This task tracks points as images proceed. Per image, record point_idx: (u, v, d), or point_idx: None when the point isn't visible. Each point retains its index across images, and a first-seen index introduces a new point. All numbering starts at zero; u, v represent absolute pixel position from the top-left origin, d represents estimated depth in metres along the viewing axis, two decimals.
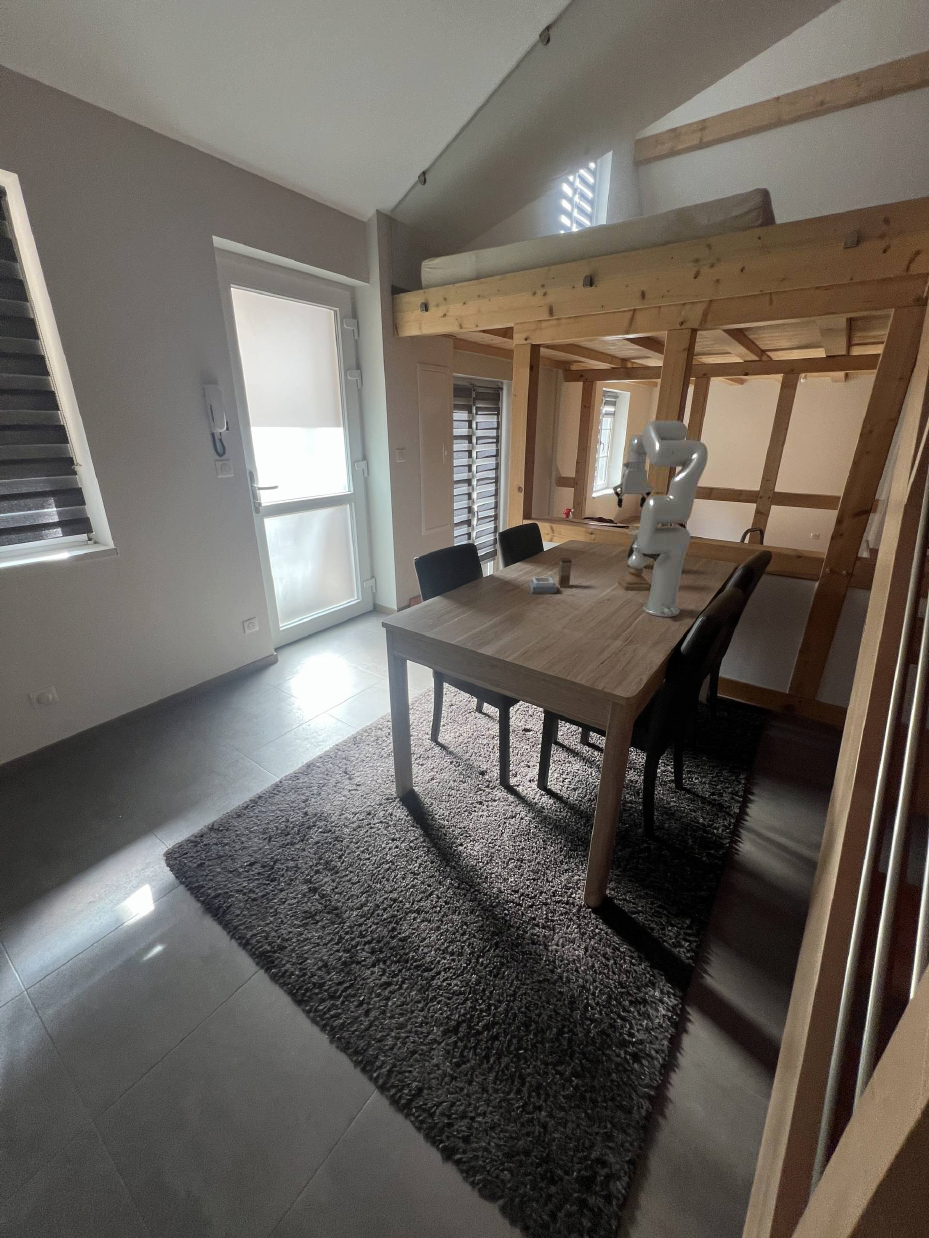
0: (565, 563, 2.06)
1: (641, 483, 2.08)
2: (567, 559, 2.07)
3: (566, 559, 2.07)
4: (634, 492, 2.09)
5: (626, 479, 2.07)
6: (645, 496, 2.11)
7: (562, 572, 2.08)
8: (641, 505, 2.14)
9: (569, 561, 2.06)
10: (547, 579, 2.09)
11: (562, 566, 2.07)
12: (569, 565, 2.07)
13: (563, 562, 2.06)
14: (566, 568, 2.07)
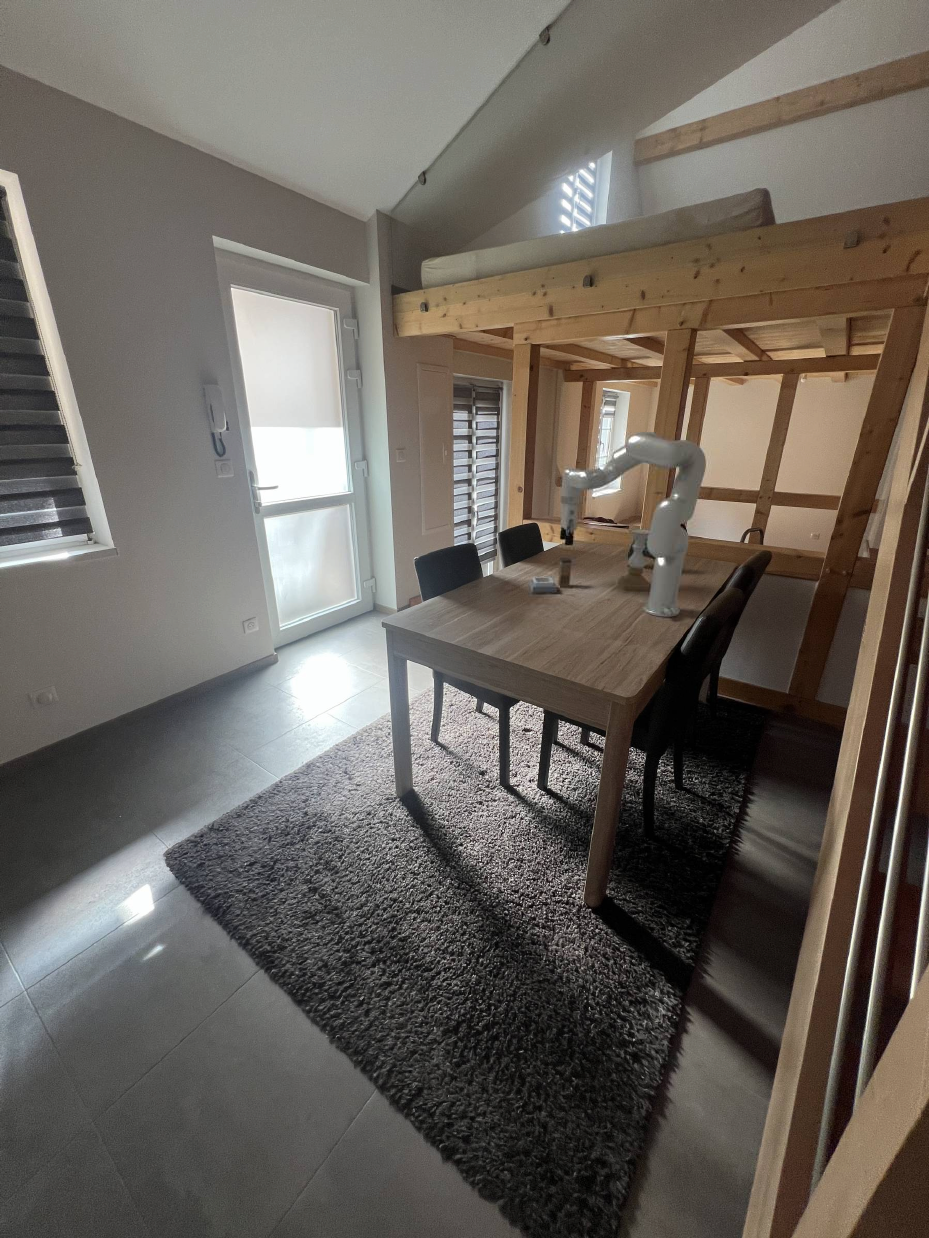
0: (565, 563, 2.06)
1: None
2: (567, 559, 2.07)
3: (566, 559, 2.07)
4: None
5: (577, 515, 1.97)
6: None
7: (562, 572, 2.08)
8: (564, 537, 2.09)
9: (569, 561, 2.06)
10: (547, 579, 2.09)
11: (562, 566, 2.07)
12: (569, 565, 2.07)
13: (563, 562, 2.06)
14: (566, 568, 2.07)
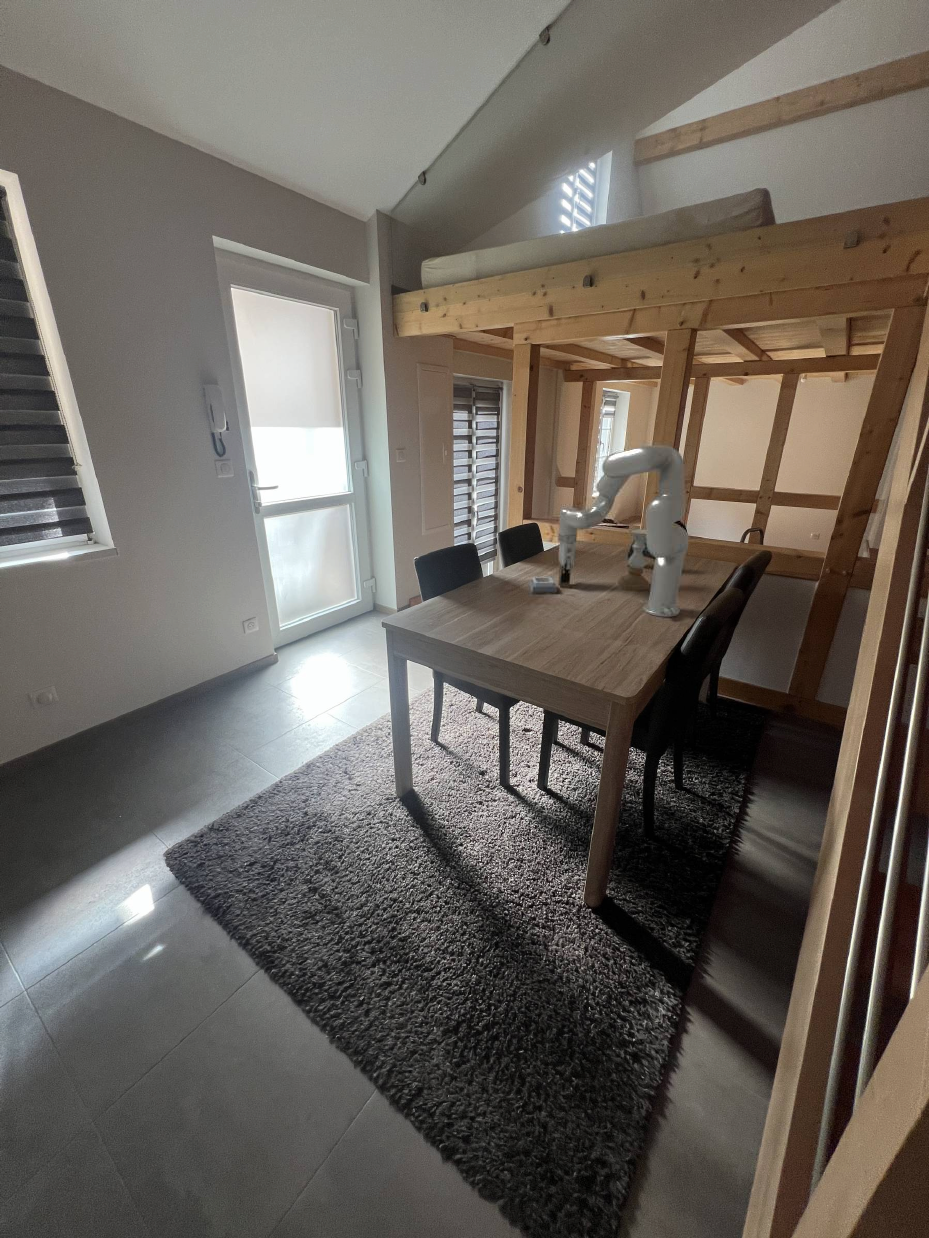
0: None
1: None
2: None
3: None
4: None
5: (574, 552, 2.02)
6: None
7: (562, 572, 2.08)
8: None
9: None
10: (547, 579, 2.09)
11: (562, 566, 2.07)
12: None
13: None
14: None
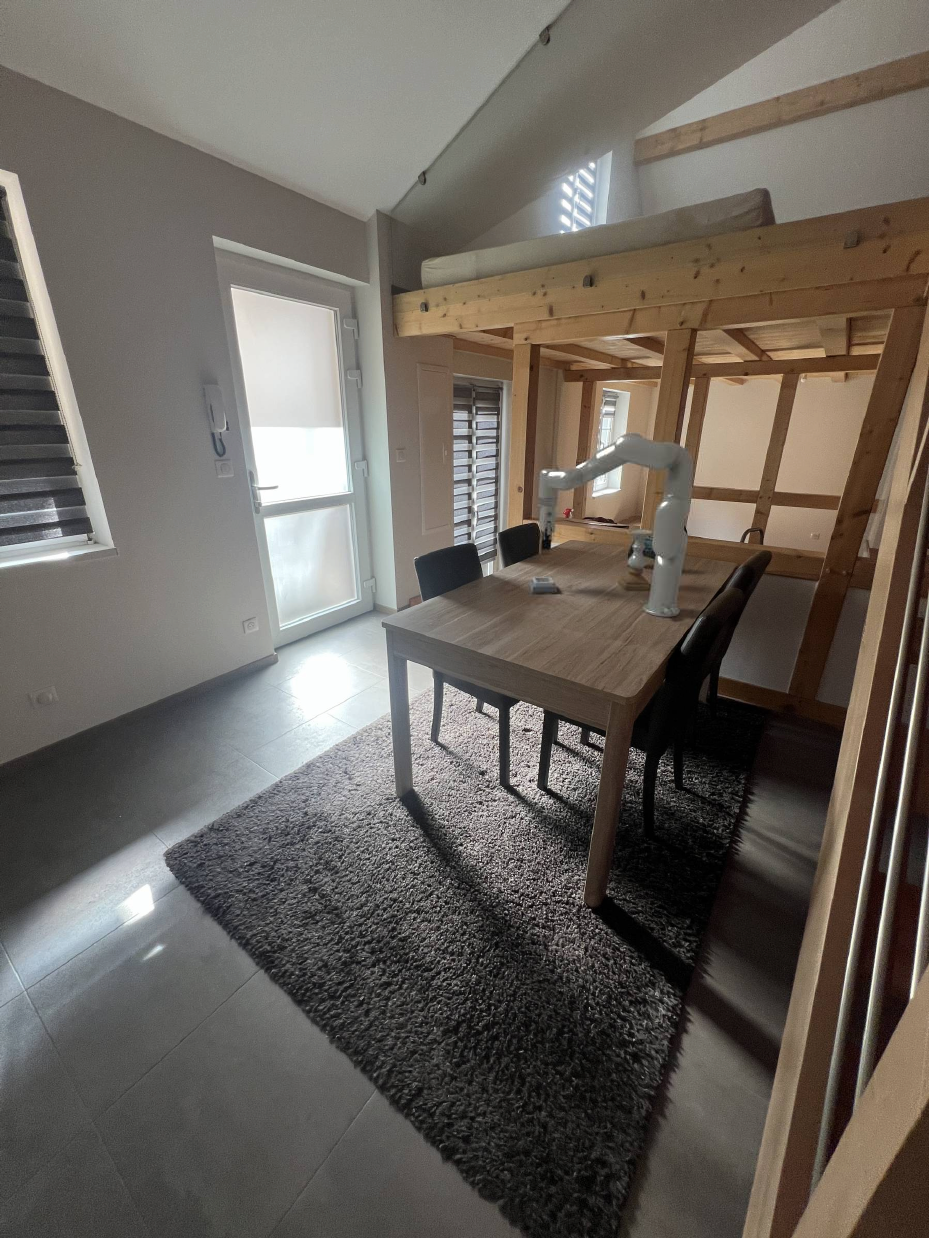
0: None
1: None
2: None
3: None
4: None
5: None
6: None
7: None
8: None
9: None
10: (547, 579, 2.09)
11: (542, 531, 1.96)
12: None
13: None
14: None
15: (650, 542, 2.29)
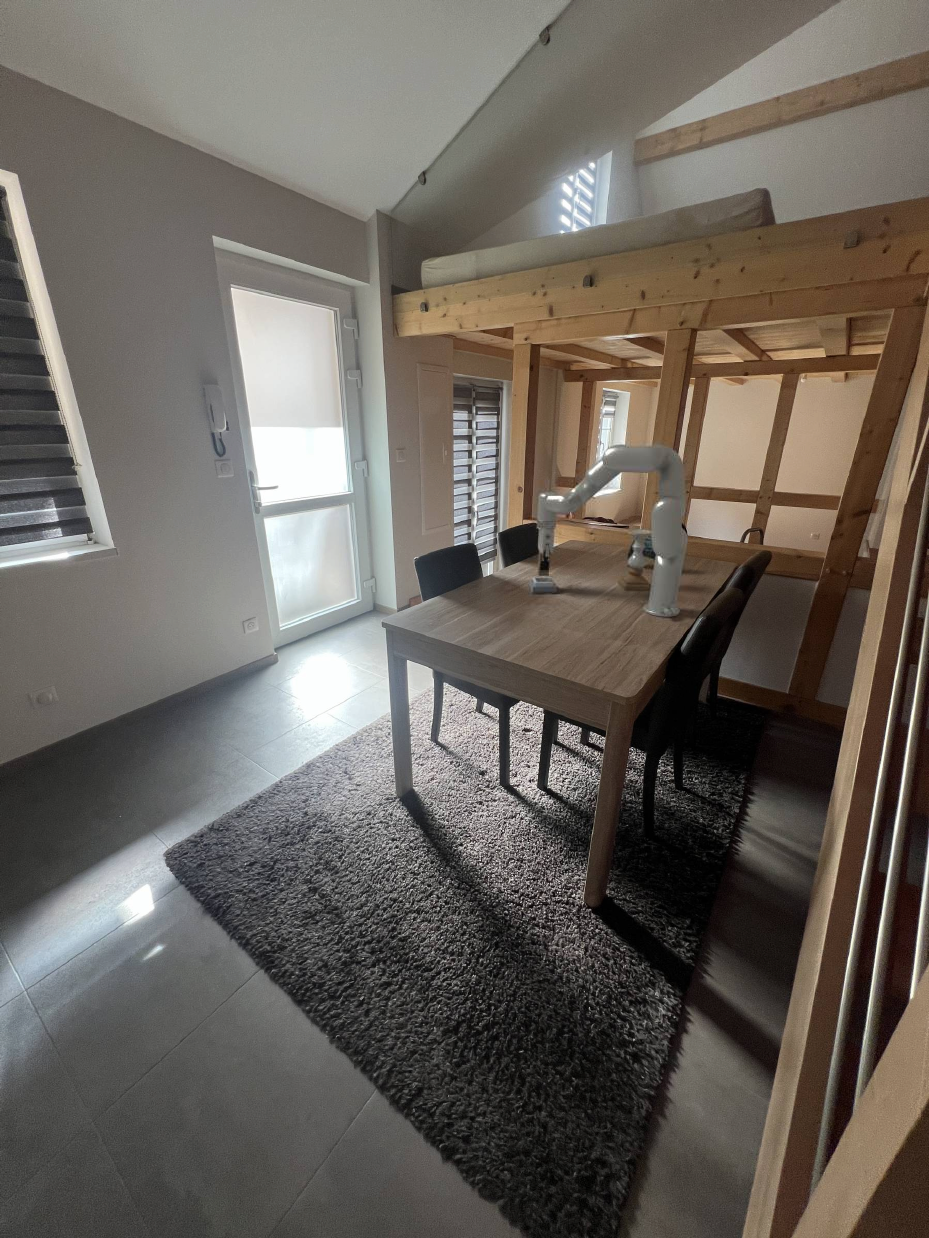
0: None
1: None
2: None
3: None
4: None
5: (553, 539, 1.95)
6: None
7: (541, 559, 2.01)
8: None
9: None
10: (547, 579, 2.09)
11: (541, 553, 2.00)
12: None
13: None
14: None
15: (650, 542, 2.29)
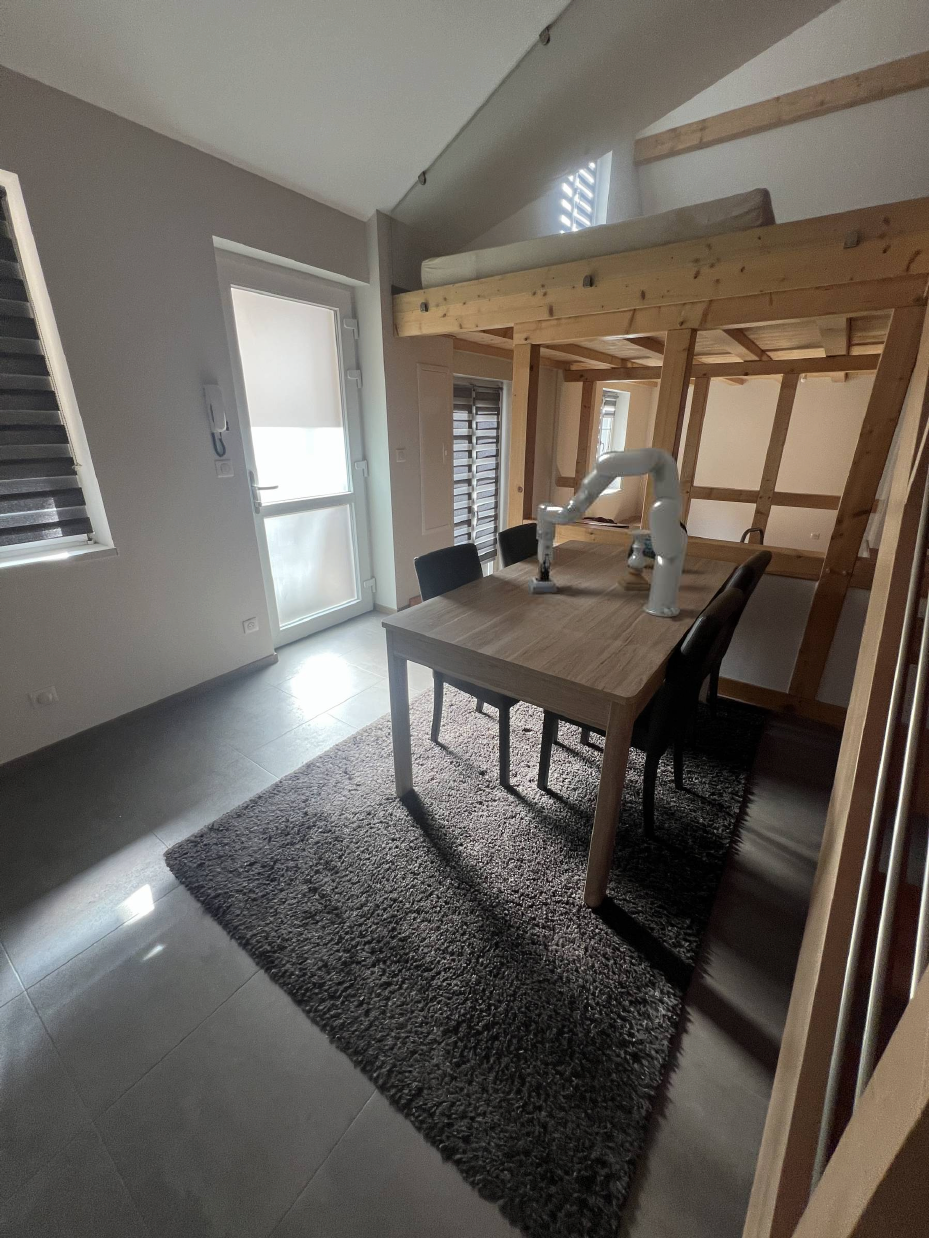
0: None
1: None
2: None
3: None
4: None
5: None
6: None
7: None
8: None
9: None
10: None
11: (541, 567, 2.02)
12: None
13: None
14: None
15: (650, 542, 2.29)
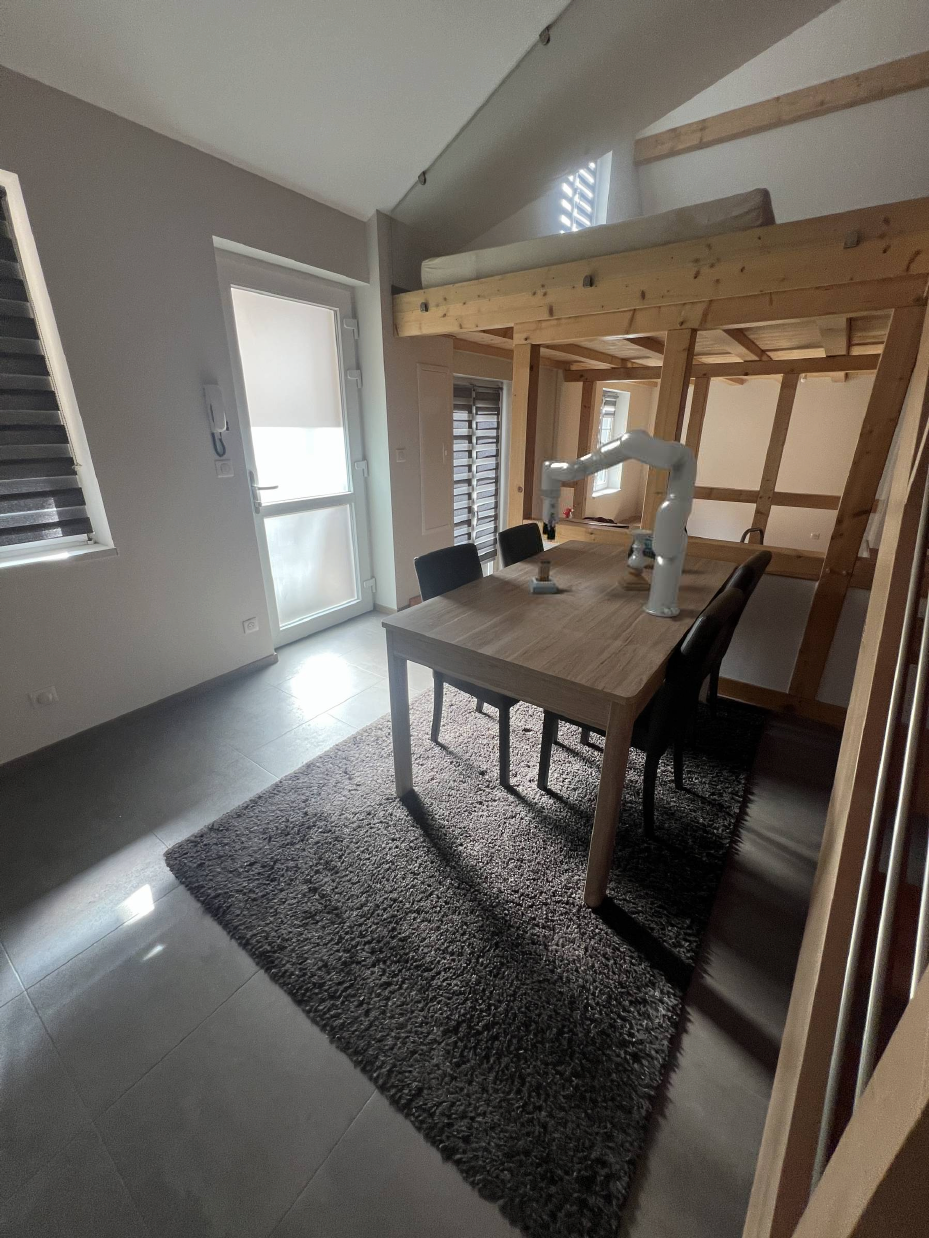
0: (544, 564, 2.01)
1: None
2: (546, 560, 2.02)
3: (545, 560, 2.02)
4: None
5: (558, 508, 1.91)
6: None
7: (541, 573, 2.03)
8: (547, 532, 2.03)
9: (548, 562, 2.01)
10: None
11: (541, 567, 2.02)
12: (548, 566, 2.02)
13: (542, 563, 2.01)
14: (545, 569, 2.02)
15: (650, 542, 2.29)
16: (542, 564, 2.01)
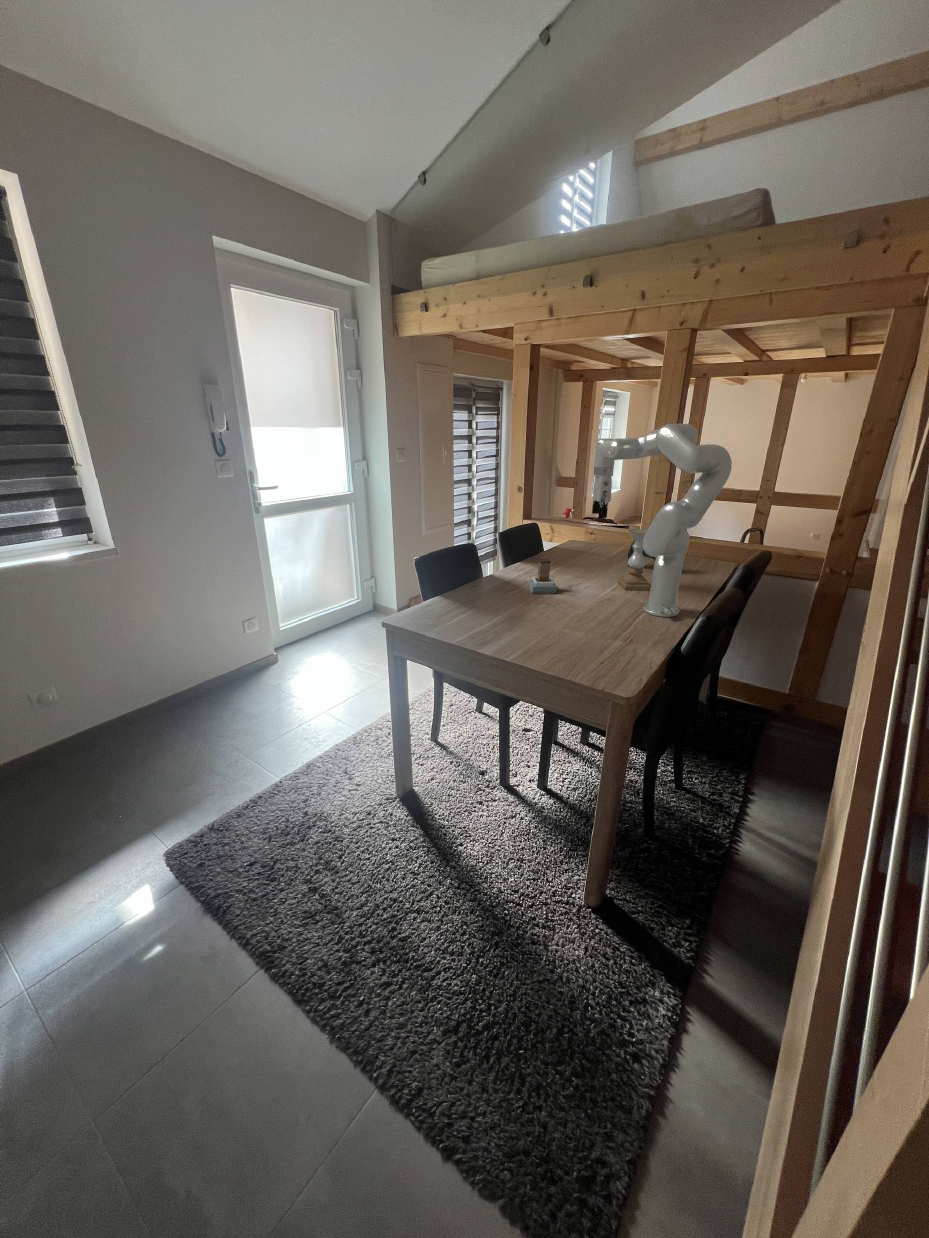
0: (544, 564, 2.01)
1: None
2: (546, 560, 2.02)
3: (545, 560, 2.02)
4: None
5: (611, 486, 1.92)
6: None
7: (541, 573, 2.03)
8: (596, 511, 2.04)
9: (548, 562, 2.01)
10: None
11: (541, 567, 2.02)
12: (548, 566, 2.02)
13: (542, 563, 2.01)
14: (545, 569, 2.02)
15: None
16: (542, 564, 2.01)
